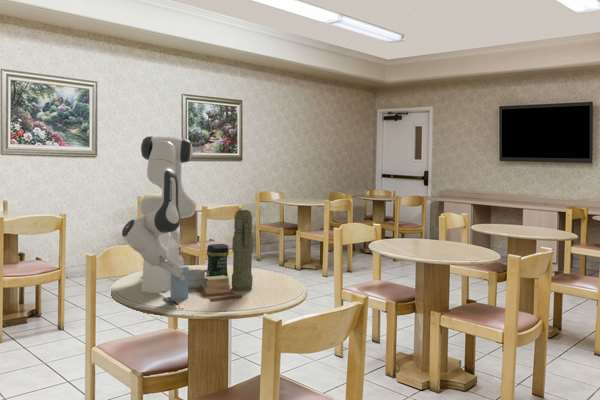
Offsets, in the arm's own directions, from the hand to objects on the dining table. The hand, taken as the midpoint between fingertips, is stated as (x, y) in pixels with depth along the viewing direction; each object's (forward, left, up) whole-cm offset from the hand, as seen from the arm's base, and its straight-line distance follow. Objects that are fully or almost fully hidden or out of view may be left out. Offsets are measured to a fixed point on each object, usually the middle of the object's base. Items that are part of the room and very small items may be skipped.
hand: (181, 277), depth 208 cm
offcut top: (-3, +16, -5) cm, 17 cm away
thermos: (-4, +28, -10) cm, 30 cm away
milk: (-21, -2, -10) cm, 23 cm away
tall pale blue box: (0, -1, -9) cm, 9 cm away
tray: (+1, +15, -9) cm, 18 cm away
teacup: (-17, +12, -10) cm, 23 cm away
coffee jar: (-20, +23, -10) cm, 32 cm away
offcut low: (-3, +16, -8) cm, 19 cm away
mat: (0, -1, -9) cm, 9 cm away
